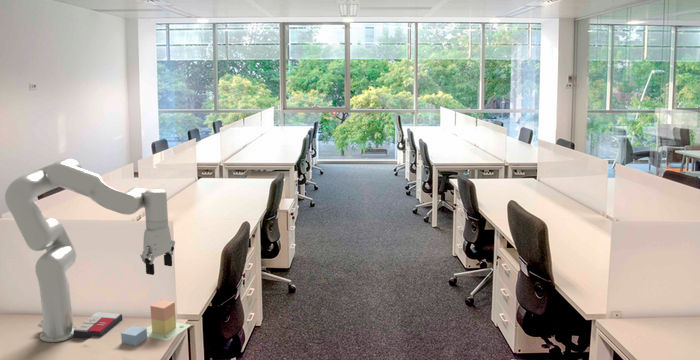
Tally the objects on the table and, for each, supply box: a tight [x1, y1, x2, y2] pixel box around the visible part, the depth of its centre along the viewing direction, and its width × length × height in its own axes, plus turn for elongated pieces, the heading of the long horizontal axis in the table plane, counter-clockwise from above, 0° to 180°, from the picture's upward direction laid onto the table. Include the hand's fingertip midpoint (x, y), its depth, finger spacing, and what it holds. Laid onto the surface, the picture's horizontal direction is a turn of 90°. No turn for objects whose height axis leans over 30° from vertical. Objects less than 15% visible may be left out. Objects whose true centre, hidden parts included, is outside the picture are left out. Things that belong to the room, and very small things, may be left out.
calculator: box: [73, 311, 123, 340], centre depth 222 cm, size 11×4×15 cm
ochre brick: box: [150, 315, 177, 334], centre depth 220 cm, size 6×6×5 cm
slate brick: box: [120, 325, 148, 347], centre depth 212 cm, size 6×6×5 cm
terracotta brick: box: [150, 299, 176, 321], centre depth 219 cm, size 6×6×5 cm
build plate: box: [146, 321, 192, 342], centre depth 220 cm, size 14×14×1 cm
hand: (159, 269), depth 216 cm, fingers open, 9 cm apart
